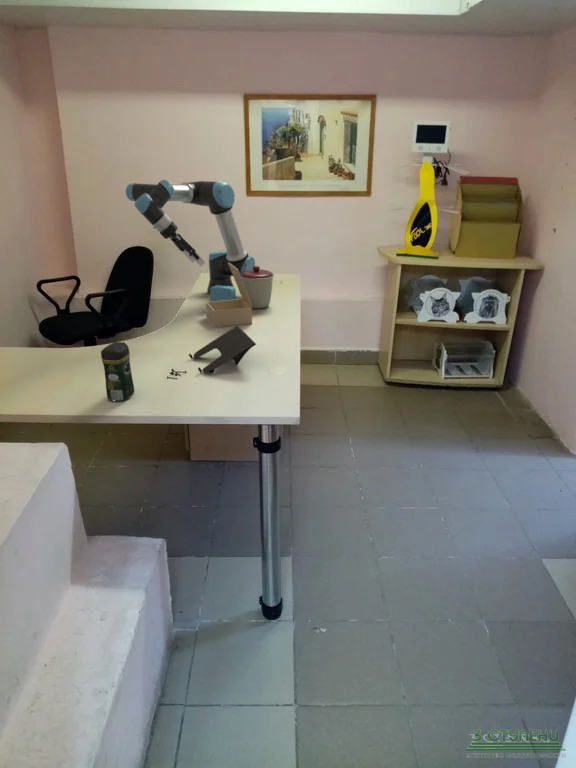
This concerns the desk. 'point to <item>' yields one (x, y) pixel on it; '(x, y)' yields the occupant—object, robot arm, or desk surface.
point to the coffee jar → (117, 371)
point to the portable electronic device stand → (227, 348)
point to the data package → (222, 293)
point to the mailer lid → (240, 283)
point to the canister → (258, 286)
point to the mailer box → (229, 313)
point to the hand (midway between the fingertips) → (198, 262)
